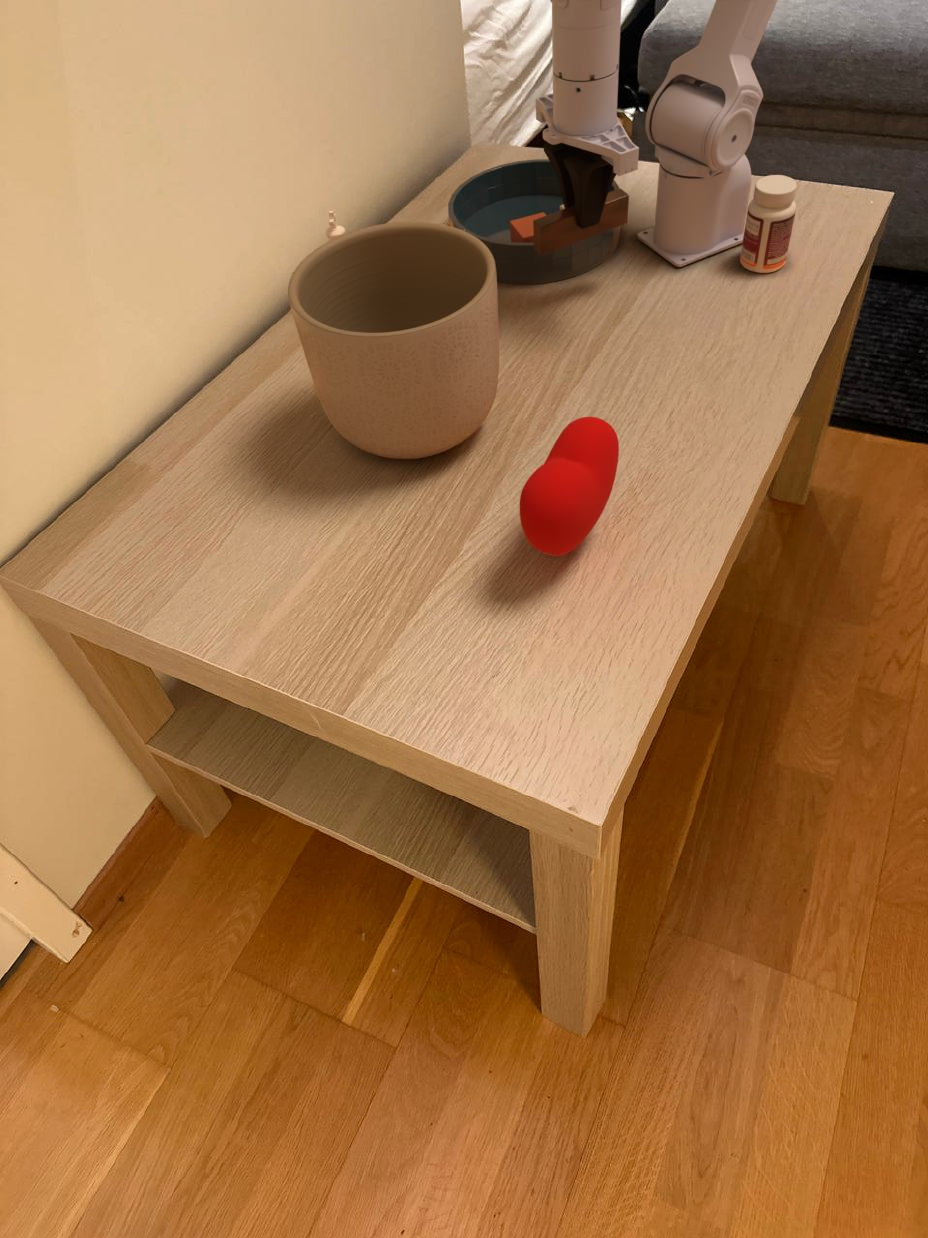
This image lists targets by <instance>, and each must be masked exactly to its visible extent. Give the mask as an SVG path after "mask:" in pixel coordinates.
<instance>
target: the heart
mask: <svg viewBox="0 0 928 1238" xmlns="http://www.w3.org/2000/svg"><path fill="white" fill-rule="evenodd" d="M619 454H620V443H619V437H618V434H617V432H616V430H615V428H614V427H613V426H612V424H610V423H609V422H607V421H606V420H604V419H603V418H599V417H597V416H582V417H579V418H576V419H575V420H573V421H571V422H570V423H569V424H567V425H566V426H565V427H564V429H563V430H562V431H561V433H560V434H559V436H558V437H557V438H556V440H555V442H554V444H553V446H552V447H551V449H550V452H549V453H548V455H547V456H546V459H545V460H544V462H543V464H541V465H540V466H539V467H537V469H536V470H534V471H533V473H531V475H530V476H529V477H528V479H527V480H526V481H525V483H524V485H523V486H522V489H521V491H520V497H519V519H520V524H521V528H522V531H523V534H524V536H525V538H526V540H527V541H528V542H529V544H530V545H531V546H532V547H533V548H534V549H535V550H537V551H539V552H541V554H542V553H543V554H545V555H549V556H555V557H556V556H557V557H559V556H563V555H566V554H569V553H570V552H572V551H573V550H575V549H576V548H577V547H578V546H579V545H580V544H582V542H583V541H584V540H585V539H586V537H587V536H588V535H589V534H590V532H591V531H592V530H593V528H594V527H595V526H596V524H597V522H598V521H599V519H600V518H601V515H602V514H603V512H604V511H605V508H606V507H607V503H608V501H609V499H610V497H611V494H612V490H613V488H614V484H615V480H616V475H617V470H618V464H619V456H620V455H619Z"/></svg>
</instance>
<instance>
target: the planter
mask: <svg viewBox="0 0 928 1238" xmlns="http://www.w3.org/2000/svg"><path fill="white" fill-rule="evenodd" d="M287 296H288V301H289V306H290V309H291V313H292V317H293V321H294V324H295V327H296V330H297V333H298V338H299V340H300V343H301V346H302V350H303V353H304V356H305V360H306V364H307V367H308V370H309V374H310V376H311V379H312V383H313V386H314V389H315V391H316V393H317V394H316V395H317V396H318V399H319V401H320V404H321V406H322V408H323V410H324V412H325V415H326V416H327V418H328V420H329V421H330V424H331V425H332V426H333V427H334V429H335V430H336V431H337V433H339V434H340V435H341V436H342V438H344V439H345V440H346V441H347V442H349V443H350V444H351V445H353V446H355V447H357V448H358V449H360V450H363V451H365V452H366V453H369V454H372V455H375V456H378V457H383V458H388V459H396V460H414V459H422V458H423V459H424V458H427V457H431V456H435V455H438V454H441V453H444V452H446V451H448V450H450V449H452V448H454V447H456V446H458V445H460V444H461V443H463V442H464V441H465V440H467V439H468V438H469V437H471V435H473V434H474V433H475V432H476V431H477V430H478V429H479V428H480V427H481V425H482V424H483V423H484V421H485V420H486V419H487V416H488V415H489V413H490V412H491V409H492V407H493V404H494V401H495V399H496V395H497V391H498V383H499V374H500V373H499V372H500V329H499V328H500V325H499V300H498V299H499V298H498V297H499V295H498V281H497V275H496V265H495V260H494V257H493V255H492V253H491V252H490V250H489V249H488V247H487V246H486V245H485V244H484V243H483V242H482V241H480V240H479V239H478V238H476V237H475V236H473V235H471V234H469V233H467V232H465V231H463V230H460V229H457V228H454V227H451V226H450V225H447V224H442V223H436V222H435V223H434V222H426V221H396V222H388V223H382V224H381V223H380V224H375V225H371V226H367V227H363V228H359V229H356V230H352V231H349V232H347V233H345V234H344V235H342V236H339V237H337V238H335V239H333V240H331V241H330V240H328V241H327V242H325V243H323V244H322V245H320V246H318V247H317V248H315V249H314V250H313V251H311V252H310V253H309V254H308V255H306V257H304V258H303V259H302V261H300V263H299V264H298V265H297V266H296V268H295V269H294V271H293V272H292V274H291V277H290V278H289V282H288V286H287Z"/></svg>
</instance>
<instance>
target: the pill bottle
mask: <svg viewBox="0 0 928 1238" xmlns="http://www.w3.org/2000/svg"><path fill="white" fill-rule="evenodd" d="M797 188H798V183H797V181H796V180H795V179H794V178H792V177H790V176H787V175H783V174H770V175H765V176H763V177H760V178H759V179H758V180H756V182H755V185H754V190H753V199H751V200H750V201H749V203H748V208H747V214H746V220H745V226H744V232H743V233H744V236H743V243H741V249H740V250H741V251H740V257H739V262H740V264H741V266H742V267H743V268H745V270H748V271H750V272H754V273H759V274H768V273H773V272H777V271H779V270H780V269H781V268H783V267H784V265H785V264H786V261H787V256H788V253H789V247H790V242H791V237H792V231H793V226H794V222H795V217H796V212H797V204H796V201H795V198H796V195H797Z"/></svg>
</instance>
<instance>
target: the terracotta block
mask: <svg viewBox="0 0 928 1238" xmlns="http://www.w3.org/2000/svg"><path fill="white" fill-rule="evenodd" d="M544 216H546V214H545V213H544V212H543V213H539V214H535V215H531V216H528V217H524V218H520V219H516V220H512V221H510V235H511V242H520V243H532V242H534V231H533V220H536V219H538V218H541V217H544Z"/></svg>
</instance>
